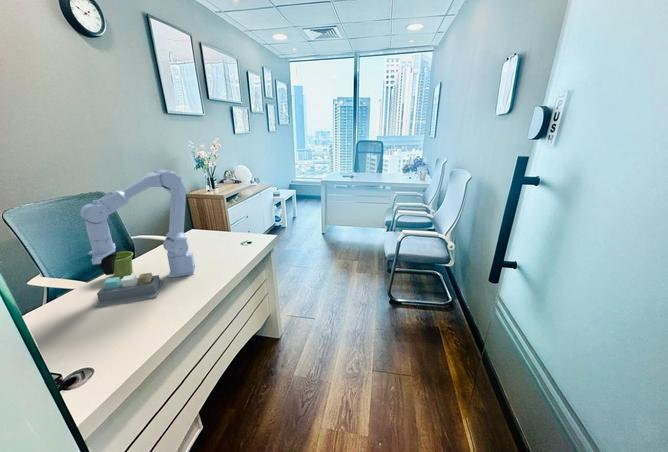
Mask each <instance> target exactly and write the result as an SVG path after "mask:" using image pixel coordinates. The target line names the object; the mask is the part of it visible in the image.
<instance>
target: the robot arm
mask: <svg viewBox="0 0 668 452" xmlns="http://www.w3.org/2000/svg"><path fill="white" fill-rule="evenodd" d="M159 187H160V188H163V189H165V190H166V191H167V192H168V193H169V194H170V205H169V223H168V224H169V225H168V226H169V227H168V232H166V234H165V239H164V241H163V242H162V246H163V248H164V250H165V251H167V253H166V255H167V261H168V266H169V270H170V271H169V274H168V276H167V277H168V278H170V279H171V278H176V277H177V278H178V277H185V276H191V275H194V274H195V270H196V264H195V258H194V253H193V251H189V247H190V246H189V244H188V242H187V241H188V239H187V236H186V234H185V232H184V231H185V220H186V219H185V218H186V202H187V190H186V188H185V186H184V183H183V182H182V177H181V176H180V175H179V174H177V173H176V172H175V171H172V170H165V169H162V168H158V169H155V170H153V171H151V172H149V173H147V174H145V175H144V176H142V177H141V178H139V179H138V180H136V181H135V182H133V183H132V184H130V185H129V186H127V187H125V188H124V189H121V190H117V189H116V190H113V191H111V190H108V191H107V192H106V195H103V196H102V197H100V198H98V199H94V200H92V203H88V204H85V205H83V206H82V207H81V209H80V212H79V216H80V217H81V218H82V219H84V224H85V229H86V230H85V231H86V233H87V236H88V240H89V244H90V247H91V251H89V252H88V255H89V256H91V255H92V258H91V263H92V265H93V266H94V265H97V266H98V267H99V268H100V269H101V271H102V272H103V273H104V274H105V276H112V275H113V276H114V269H115V259H116V256H117V253H118V252H116V248H117V247H116V243H115V242H113V238H112V234H111V230H110V226H109V224H108V221H107V220H108V218H109V215H112V214H113V213H115V212H116V211H118V210H119V209H121V208H124V207H125V206H126V205H128V204H129V201H130V198H133V197H135V196H136V195H138V194H140V193H142V192H144V191H146V190H147V189H149V188H159Z"/></svg>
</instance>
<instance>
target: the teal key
mask: <svg viewBox="0 0 668 452" xmlns="http://www.w3.org/2000/svg"><path fill="white" fill-rule="evenodd" d="M121 280H122V279H121V278H120V277H110V278H109V277H108V278H106V280H104V282H103V285H104V286H105V290H109V289H116V288H119V287H120V286H121Z"/></svg>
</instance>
